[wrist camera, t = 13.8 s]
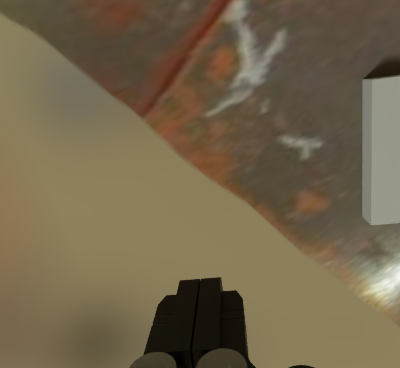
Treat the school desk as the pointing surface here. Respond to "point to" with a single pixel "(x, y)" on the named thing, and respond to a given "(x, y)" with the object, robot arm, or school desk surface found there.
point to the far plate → (381, 150)
